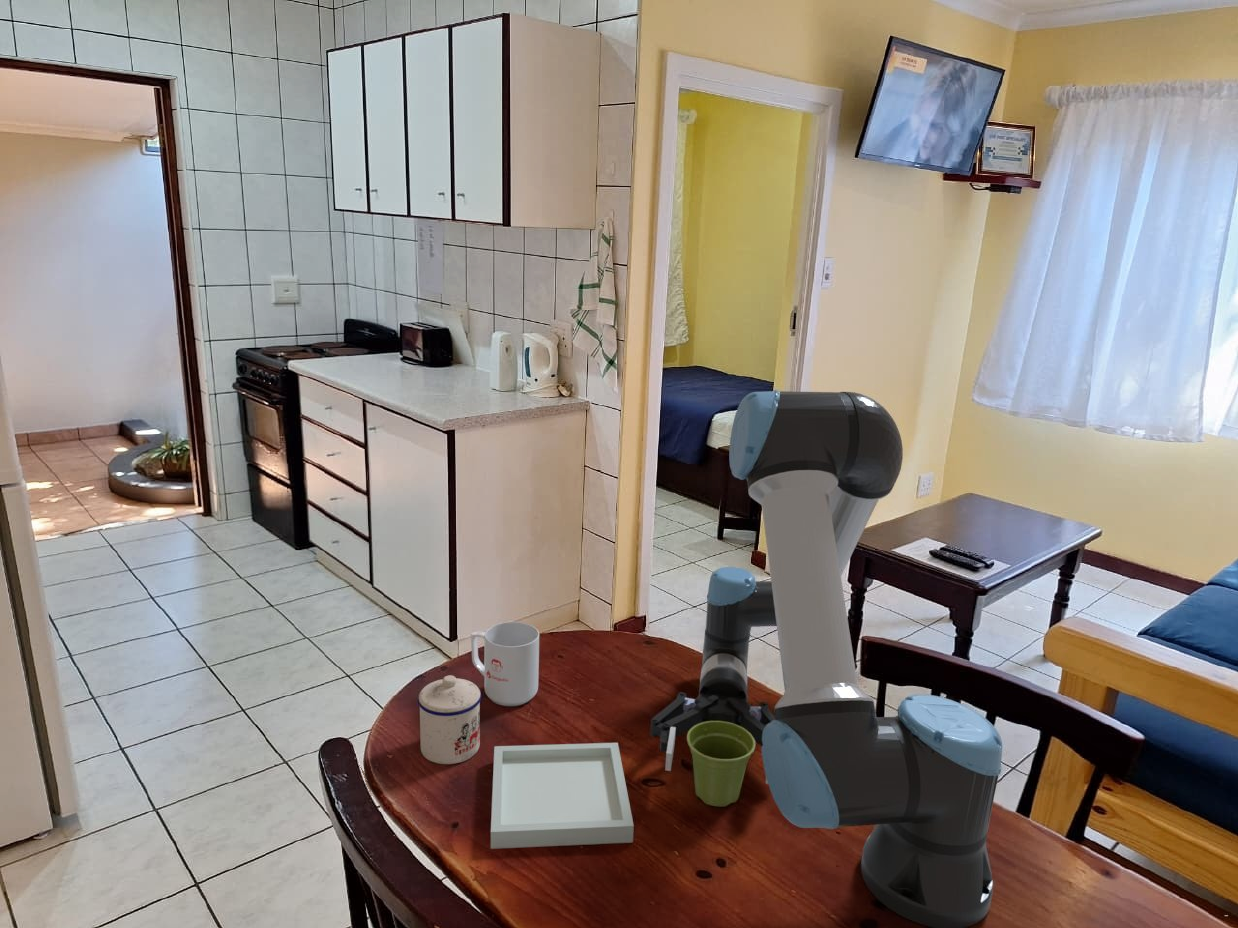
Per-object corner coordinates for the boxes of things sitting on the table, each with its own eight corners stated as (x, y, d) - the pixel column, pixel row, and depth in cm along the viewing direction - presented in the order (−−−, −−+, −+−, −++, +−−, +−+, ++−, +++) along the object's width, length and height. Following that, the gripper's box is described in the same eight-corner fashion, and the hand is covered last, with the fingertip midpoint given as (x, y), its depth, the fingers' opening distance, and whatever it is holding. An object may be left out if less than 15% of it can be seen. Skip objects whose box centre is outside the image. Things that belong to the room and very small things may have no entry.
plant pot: (679, 809, 115) (683, 754, 113) (686, 768, 124) (690, 716, 122) (748, 820, 114) (754, 764, 111) (751, 777, 123) (756, 725, 120)
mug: (547, 688, 144) (549, 628, 141) (521, 714, 136) (521, 651, 133) (487, 671, 148) (487, 613, 145) (457, 695, 140) (457, 634, 137)
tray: (632, 842, 109) (633, 825, 108) (490, 848, 107) (490, 831, 106) (617, 757, 126) (617, 742, 125) (494, 761, 124) (494, 746, 123)
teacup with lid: (464, 772, 121) (463, 699, 118) (407, 758, 123) (405, 687, 120) (499, 727, 132) (499, 659, 129) (446, 715, 135) (445, 649, 131)
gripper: (800, 718, 134) (809, 804, 114) (644, 699, 138) (625, 780, 117) (805, 675, 132) (815, 756, 112) (646, 657, 136) (628, 732, 115)
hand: (718, 768), depth 115 cm, fingers open, 13 cm apart
